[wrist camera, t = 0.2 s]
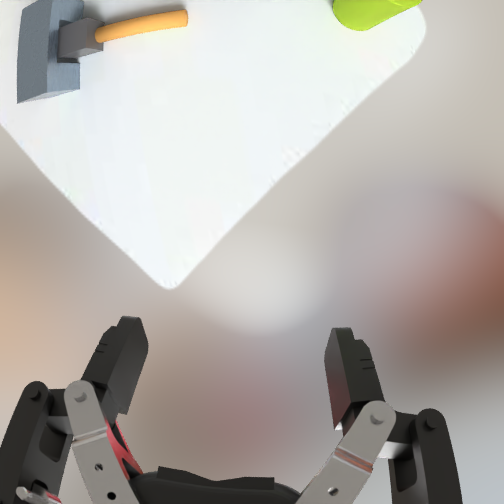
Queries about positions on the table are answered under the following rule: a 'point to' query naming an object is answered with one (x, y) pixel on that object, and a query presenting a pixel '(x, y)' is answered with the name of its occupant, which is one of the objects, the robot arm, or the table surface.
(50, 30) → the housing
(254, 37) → the table surface
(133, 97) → the table surface
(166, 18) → the hammer
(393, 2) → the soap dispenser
